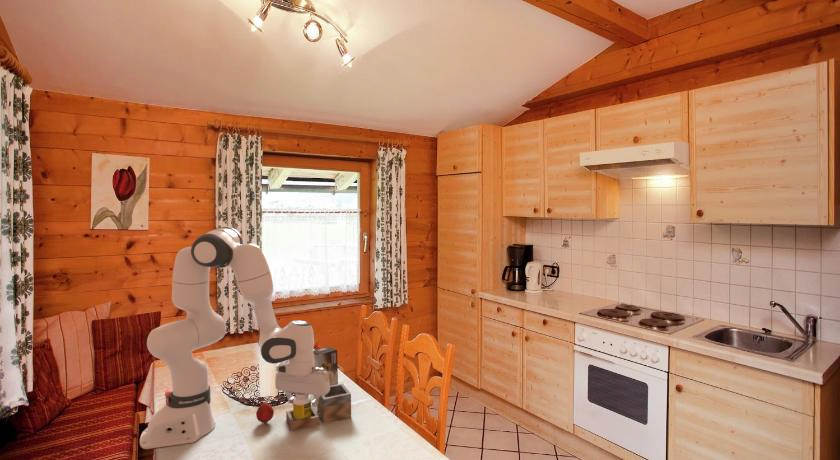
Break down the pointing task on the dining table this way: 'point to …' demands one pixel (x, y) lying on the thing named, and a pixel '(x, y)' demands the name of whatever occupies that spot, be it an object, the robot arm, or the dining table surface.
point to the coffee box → (327, 362)
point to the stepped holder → (325, 409)
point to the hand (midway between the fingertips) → (303, 404)
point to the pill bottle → (301, 406)
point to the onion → (265, 413)
